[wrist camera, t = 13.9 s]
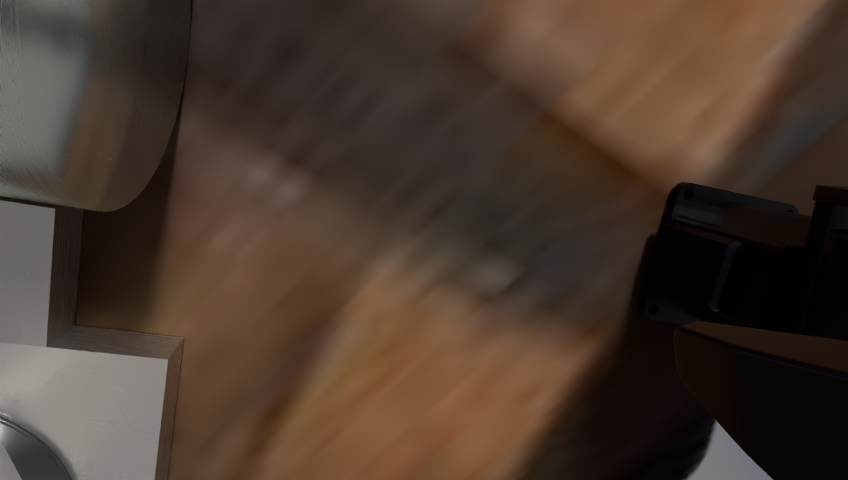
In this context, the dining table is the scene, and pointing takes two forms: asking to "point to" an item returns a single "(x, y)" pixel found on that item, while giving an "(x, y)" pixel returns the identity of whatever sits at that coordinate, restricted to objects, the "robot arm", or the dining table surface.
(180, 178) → the dining table surface
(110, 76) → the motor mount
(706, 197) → the robot arm
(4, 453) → the white pedestal with button
